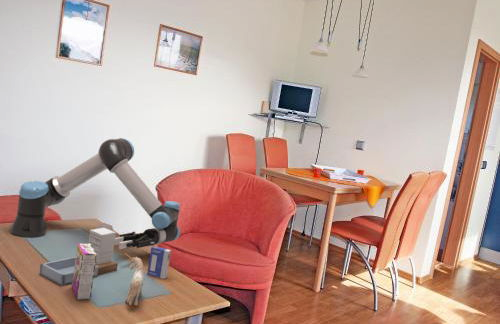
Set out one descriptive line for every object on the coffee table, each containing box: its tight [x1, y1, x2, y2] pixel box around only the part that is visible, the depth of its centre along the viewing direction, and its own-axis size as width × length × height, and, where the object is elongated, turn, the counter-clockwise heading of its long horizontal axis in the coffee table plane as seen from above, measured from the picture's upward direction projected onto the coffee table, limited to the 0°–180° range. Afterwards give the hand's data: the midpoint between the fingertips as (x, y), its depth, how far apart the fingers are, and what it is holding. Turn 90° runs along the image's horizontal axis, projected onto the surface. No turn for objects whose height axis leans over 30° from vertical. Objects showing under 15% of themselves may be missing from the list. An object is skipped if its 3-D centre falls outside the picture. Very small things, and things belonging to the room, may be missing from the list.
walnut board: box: [95, 260, 119, 277], centre depth 184 cm, size 12×10×3 cm
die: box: [95, 222, 114, 231], centre depth 220 cm, size 8×9×10 cm
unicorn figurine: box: [124, 252, 145, 307], centre depth 162 cm, size 7×20×13 cm, turn 24°
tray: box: [39, 256, 99, 286], centre depth 172 cm, size 13×16×4 cm
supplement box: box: [87, 228, 117, 265], centre depth 184 cm, size 7×7×13 cm
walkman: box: [146, 245, 172, 280], centre depth 187 cm, size 8×3×12 cm, turn 78°
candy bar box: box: [71, 242, 97, 301], centre depth 159 cm, size 11×5×16 cm, turn 30°
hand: (115, 243), depth 190 cm, fingers open, 4 cm apart
